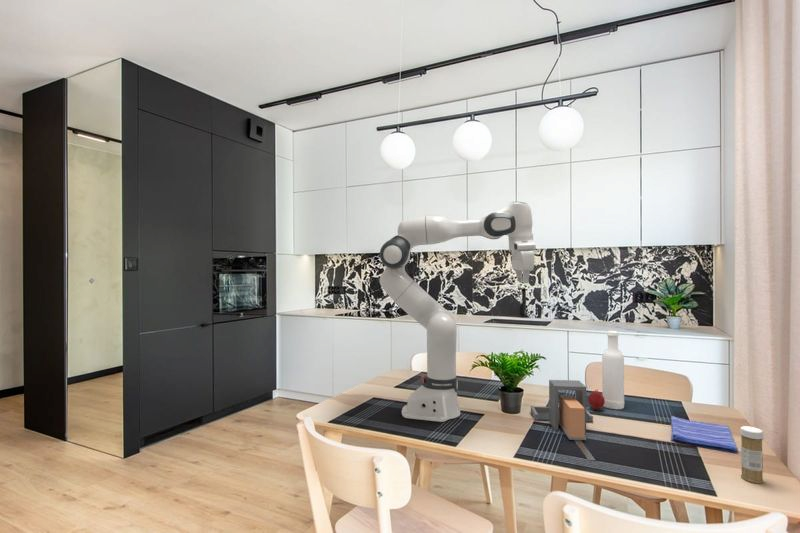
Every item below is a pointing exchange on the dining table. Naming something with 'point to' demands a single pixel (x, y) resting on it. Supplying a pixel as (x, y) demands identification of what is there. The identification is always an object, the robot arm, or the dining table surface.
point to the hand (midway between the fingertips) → (522, 282)
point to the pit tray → (543, 414)
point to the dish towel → (702, 434)
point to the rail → (584, 450)
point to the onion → (596, 400)
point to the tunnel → (553, 397)
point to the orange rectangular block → (571, 417)
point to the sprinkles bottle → (751, 454)
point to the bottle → (613, 374)
